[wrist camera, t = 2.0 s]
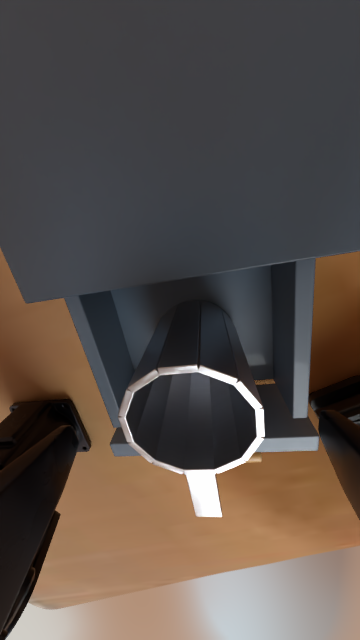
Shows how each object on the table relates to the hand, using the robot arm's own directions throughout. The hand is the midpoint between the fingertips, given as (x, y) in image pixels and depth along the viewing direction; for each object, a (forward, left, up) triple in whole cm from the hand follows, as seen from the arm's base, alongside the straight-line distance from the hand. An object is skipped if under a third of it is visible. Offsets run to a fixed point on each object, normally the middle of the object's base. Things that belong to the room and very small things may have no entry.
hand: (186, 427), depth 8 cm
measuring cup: (-2, 0, -7) cm, 7 cm away
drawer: (-2, 0, -8) cm, 8 cm away
